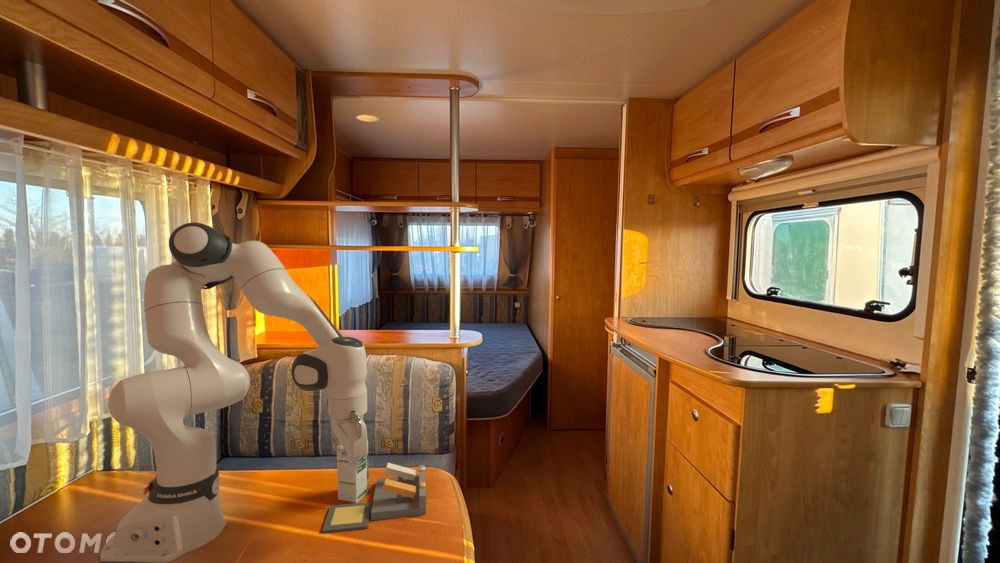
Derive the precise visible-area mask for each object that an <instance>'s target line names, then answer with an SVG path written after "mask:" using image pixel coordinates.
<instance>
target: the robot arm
mask: <svg viewBox="0 0 1000 563" xmlns="http://www.w3.org/2000/svg"><path fill="white" fill-rule="evenodd" d="M168 248H169V251H170V253H171V255H172V257H173V259H174V260H175V261H173V262H172V263H170V264H162V265H160V266H156V267H155V268H153V269H151V270H150V271H149V272H148V274H146V277H145V282H144V289H143V306H144V307H143V308H144V318H145V319H144V320H145V329H146V334H147V335H146V336H147V337H146V338H147V342H148V344H149V346H150V347H151V349H154V350H155V351H156V352H158V353H161V354H164V355H168V356H172V357H175V358H177V359H179V360H180V361H181V362H182V363H183V366H181V367H173V368H166V369H160V370H159V369H158V370H154V371H153V370H152V371H147V372H143V373H139V374H136V375H132V376H129V377H126V378H123V379H120V380H119V381H118V382H117V383H116V384H115V385H114V387H113V388H112V389H111V391H110V393H109V395H108V399H107V400H108V401H107V407H108V411H109V414H110V416H111V417H112V419H114V420H115V422H117V423H118V424H120V425H121V426H125V427H127V428H131V429H133V430H134V431H137V432H139V434H141V435H143V436H144V437H145V439H146V440H147V441H148V442H149V444H150V446H151V448H152V451H153V454H154V461H155V471H156V474H155V477H154V478H153V479H152V480H150V482H149V483H148V485H147V486H146V487H145V488H144V489H143V490H142V491H143V495H146V494H147V493H148V496H146V497H144V499H143V500H141V501H140V502H138V503H137V504H136V505H135V506H134V507H132V508H131V509H130V510H129V511H128V512H126V513H125V514H124V516H122V518H121V520H120V521H119V523H118V524H117V527H116V529H115V533H114V535H113V536H112V537H111V538H110V539H109V540H108V541H107V542H106V544H105V545H104V546H103V547H102V549H101V551H100V556H99V561H100V562H114V563H115V562H119V563H121V562H122V563H171V562H172V561H174V560H176V559H178V558H179V557H181V556H183V555H184V554H187V553H189V552H191V551H194V550H196V549H199V548H201V547H203V546H204V545H206V544H208V543H211V541H213V540H215V539H216V538H217V537H218V536H219V535H220V534H221V533H222V532H223V530H224V529H225V526H226V523H227V522H226V518H225V517H224V513H223V510H222V506H221V502H220V495H219V493H220V484H221V482H220V473H219V472H220V471H219V469H220V468H219V466H218V465H217V440H216V437H215V435H214V434H213V433H212V432H211V431H209V430H207V429H204V428H201V427H197V426H190V425H187V424H184V419H185V418H186V417H188V416H189V417H190V416H193V415H196V414H202V413H203V414H204V413H207V412H211V411H216V410H221V409H223V408H226V407H228V406H231V405H234V404H236V403H238V402H241V401H243V400H244V399H245V397H246V396H247V394H248V392H249V389H250V384H251V378H250V374H249V371H248V370H247V368H246V367H245V366H244V365H243V364H241V362H239V361H236V360H234V359H232V358H229V357H228V356H226V355H225V354H224V353H222V351H221V350H219V349H218V347H217V346H216V345H215V343H214V342H213V340H212V339H211V337H210V334H209V329H208V327H207V322H206V317H205V310H204V304H203V298H202V290H210V289H212V288H215V287H216V286H221V285H224V284H226V283H227V284H228V283H229V282H231V281H233V280H235V281H236V283H237V284H238V286H239V288H240V289H241V292H242V293H243V295H244V297H245V298H246V300H247V302H248V303H249V304H250V305H251V307H253V309H255V310H256V311H257V312H259V313H260V314H263V315H266V316H270V317H277V318H282V319H286V320H290V321H293V322H296V323H298V324H299V325H301V327H303V328H304V329H305V330H306V331H307V333H308V334H309V335H310V337H311V338H312V339H313V341H314V342H315V343H316V344H317V345H318V346H317V348H314V349H310V350H308V351H304V352H303V353H300V354H298V355H297V356H296V357H295V358H294V359H293V362H292V364H291V367H290V368H291V370H290V371H291V372H290V374H291V378H292V381H293V383H294V384H295V386H297V387H298V389H300V390H302V391H305V392H316V391H322V390H326V391H327V397H326V406H327V412H328V417H329V420H330V427H331V431H332V432H333V434H334V435H335V437H336V439H337V441H338V446H340V455H341V456H342V457H345V456H348V455H349V457H350V461H349V468H350V470H351V471H354V470H357V469H358V461H359V458H362V457H365V456H367V453H368V454H369V441H368V430H367V425H366V423H365V421H364V420H363V415H365V414H366V413H367V412H368V388H367V385H366V380H367V376H368V362H367V361H368V360H367V353H366V347H365V345H364V343H363V341H361V340H360V339H358V338H356V337H351V336H343V335H342V334H341V333H340V331H339V330H338V329H337V327H336V326H335V325H334V324H333V322H332V321H331V320H330V319H329V317H328V316H327V315H326V313H325V312H324V311H323V310H322V308H321V307H320V306H319V305H318V303H317V302H316V301H315V300H314V299H313V298H312V297H311V296H310V295H309V294H307V293H306V292H304V291H303V289H301V288H300V286H299V285H298V284H297V283H296V282H295V281H294V280H293V278H292V277H291V276H290V273H288V271H287V270H286V268H285V265H283V263H282V262H281V261H280V258H278V257H277V255H276V254H275V252H273V250H272V249H271V248H270V247H268V245H267V244H265V243H264V242H262V241H259V240H246V241H244V242H241V243H234V242H233V240H232V238H231V236H228V235H227V234H225V233H223V232H221V231H219V230H218V229H215V228H214V227H212V226H209V225H207V224H205V223H200V222H187V223H184V224H182V225H179V226H178V227H176V228H175V229H174V230H173V231H172V232H171V234H170V237H169V239H168ZM367 441H368V442H367Z"/></svg>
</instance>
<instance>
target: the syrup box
mask: <svg viewBox="0 0 1000 563" xmlns="http://www.w3.org/2000/svg"><path fill="white" fill-rule="evenodd" d="M367 442H368V443H369V440H367ZM349 461H350V457H349V455H348V456H345V457H342V456H341V455H340V446H339V445H338V446H336V463H337V464H336V465H337V466H336V469H337V471H336V472H337V475H336V476H337V499H338V501H344V502H348V503H349V502H350V503H353V504H355V503H358V502H359V501H360V500H362V499H363V498H364V497H365V496H366V495H367V494H368V493H369V492H370V485H369V484H370V481H369V480H370V478H369V472H370V471H369V452H368V453H367V456H365V457H362V458H359V461H358V469H357V470H354V471H351V470H350V468H349Z"/></svg>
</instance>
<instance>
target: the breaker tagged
mask: <svg viewBox="0 0 1000 563" xmlns="http://www.w3.org/2000/svg"><path fill="white" fill-rule="evenodd" d="M383 491H387V492H391V493H395V494H399V495H403V496H407V497H411V498H414V496H415V493H416V486H413V485H409V484H405V483H401V482H397V481H393V480H390V479H385V482H384V484H383Z"/></svg>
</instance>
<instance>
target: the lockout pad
mask: <svg viewBox="0 0 1000 563" xmlns="http://www.w3.org/2000/svg"><path fill="white" fill-rule="evenodd" d="M372 504H373V501H371V502H370V501H368V502H359V503H358V502H357V503H348V504H347V503H345V504H334V505H330V506H329V510H328V512H327V515H326V518H325V521H324V523H323V527H322V530H321V533H322V534H326V533H334V532H335V533H337V532H347V531H357V530H367V529H368V527H369V522H370V518H371V510H372Z"/></svg>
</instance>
